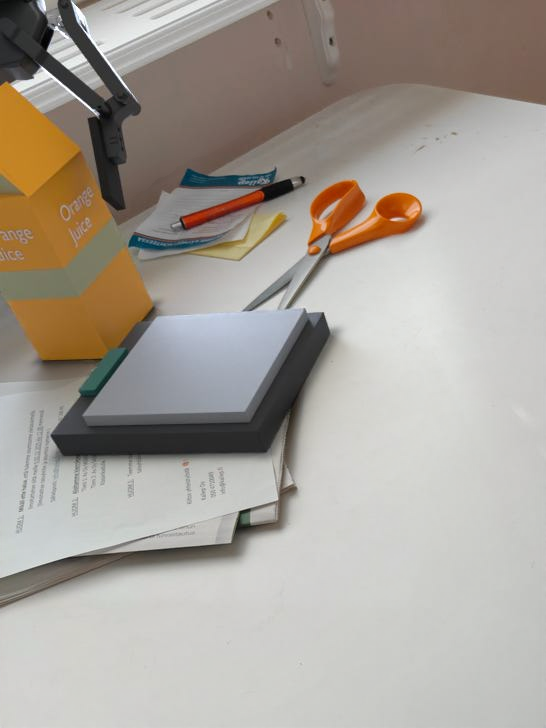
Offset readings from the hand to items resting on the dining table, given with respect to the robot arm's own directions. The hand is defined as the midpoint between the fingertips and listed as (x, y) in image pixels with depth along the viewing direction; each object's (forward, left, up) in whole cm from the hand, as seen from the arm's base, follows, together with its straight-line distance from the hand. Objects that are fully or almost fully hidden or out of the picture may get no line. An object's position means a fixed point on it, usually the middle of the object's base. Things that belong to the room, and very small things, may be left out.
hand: (37, 221), depth 81 cm
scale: (+15, -9, -11) cm, 21 cm away
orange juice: (0, +1, -11) cm, 11 cm away
